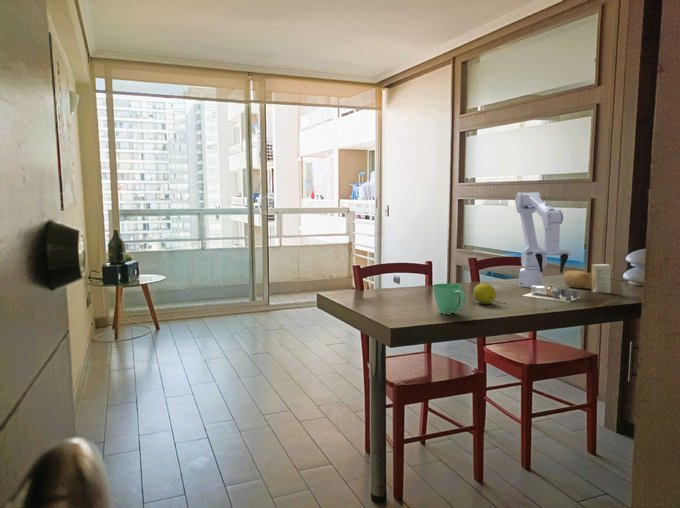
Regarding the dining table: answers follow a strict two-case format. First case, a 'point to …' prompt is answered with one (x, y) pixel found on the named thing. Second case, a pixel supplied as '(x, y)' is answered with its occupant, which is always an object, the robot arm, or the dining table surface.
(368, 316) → the dining table surface
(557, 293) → the collar
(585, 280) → the potato
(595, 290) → the skincare box
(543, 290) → the tube
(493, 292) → the lemon
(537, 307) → the dining table surface
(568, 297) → the collar
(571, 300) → the board
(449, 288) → the mug
